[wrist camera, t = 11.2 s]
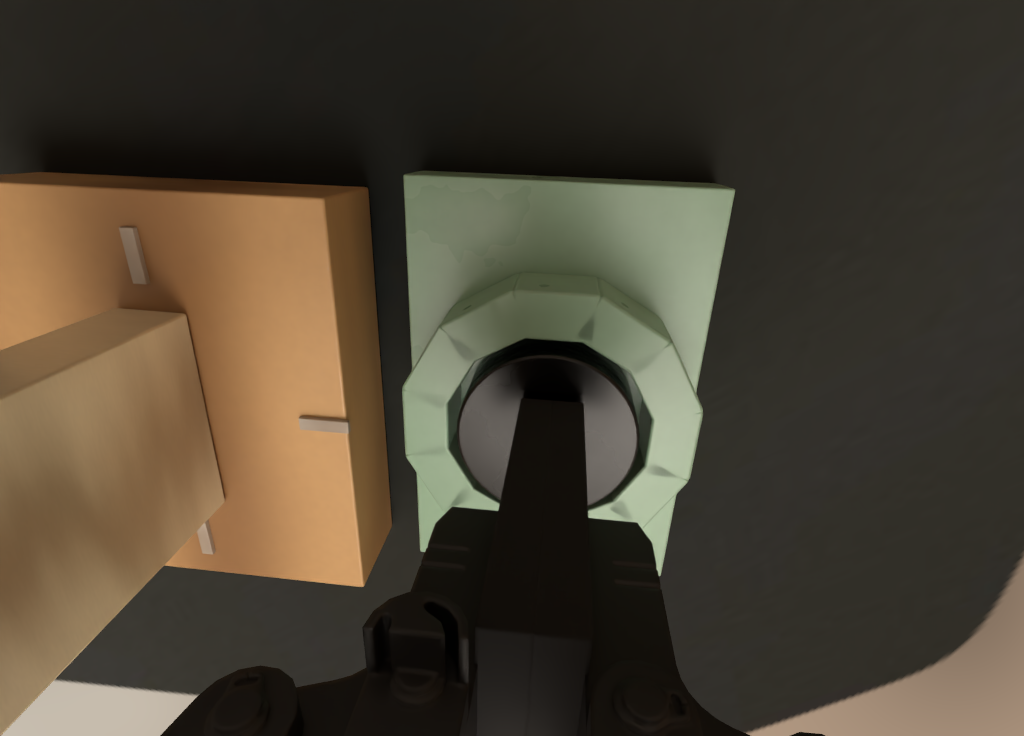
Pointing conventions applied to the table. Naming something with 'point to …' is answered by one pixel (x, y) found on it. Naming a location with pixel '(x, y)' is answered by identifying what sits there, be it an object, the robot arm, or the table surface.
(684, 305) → the button box
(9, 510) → the dial
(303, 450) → the dial panel
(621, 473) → the button
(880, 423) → the table surface
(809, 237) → the table surface
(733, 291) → the table surface
